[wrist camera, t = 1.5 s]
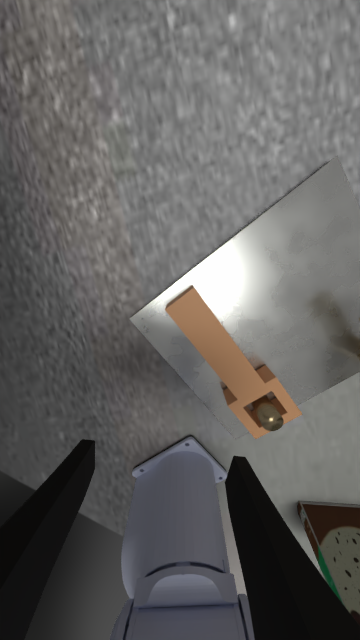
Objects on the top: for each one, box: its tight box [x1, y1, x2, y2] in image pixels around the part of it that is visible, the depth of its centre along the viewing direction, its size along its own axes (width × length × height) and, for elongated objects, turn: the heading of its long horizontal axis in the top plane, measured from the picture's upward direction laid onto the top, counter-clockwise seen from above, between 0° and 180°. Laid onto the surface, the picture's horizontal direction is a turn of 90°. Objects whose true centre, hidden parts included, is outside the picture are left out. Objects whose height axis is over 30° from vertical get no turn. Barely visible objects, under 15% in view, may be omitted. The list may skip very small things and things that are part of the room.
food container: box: [297, 501, 360, 625], centre depth 21 cm, size 12×6×10 cm, turn 85°
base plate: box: [130, 156, 360, 439], centre depth 15 cm, size 20×18×4 cm
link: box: [165, 285, 302, 439], centre depth 16 cm, size 16×5×2 cm, turn 38°
